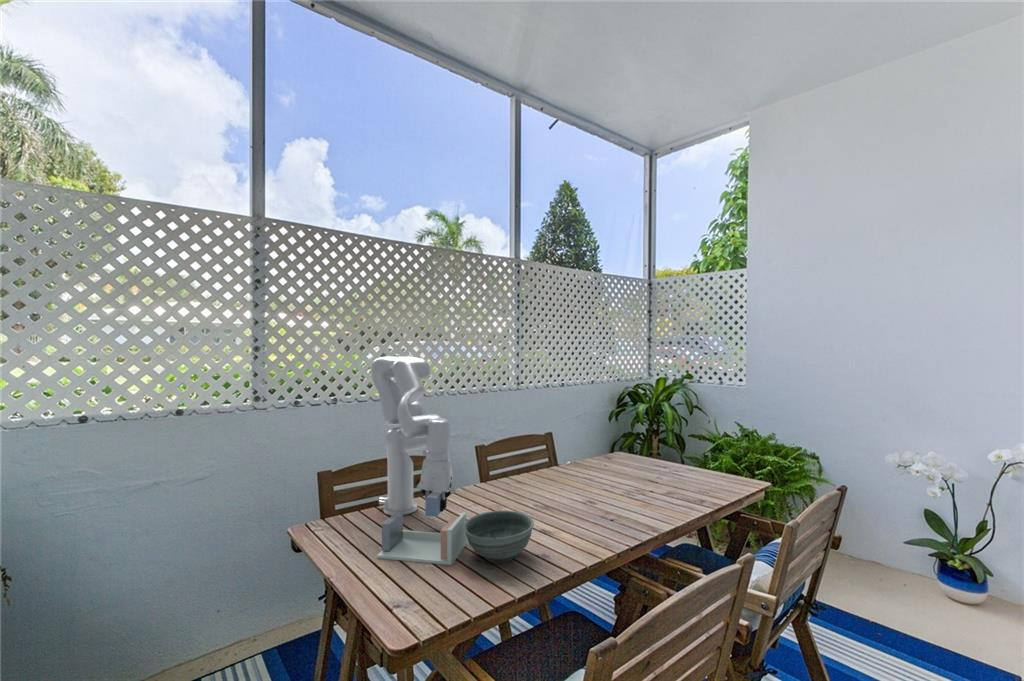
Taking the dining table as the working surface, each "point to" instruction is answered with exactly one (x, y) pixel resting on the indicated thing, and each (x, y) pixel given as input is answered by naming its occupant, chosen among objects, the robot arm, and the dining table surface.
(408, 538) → the mint u-shaped tray
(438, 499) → the book
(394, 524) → the bookend
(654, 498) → the dining table surface
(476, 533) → the bowl
